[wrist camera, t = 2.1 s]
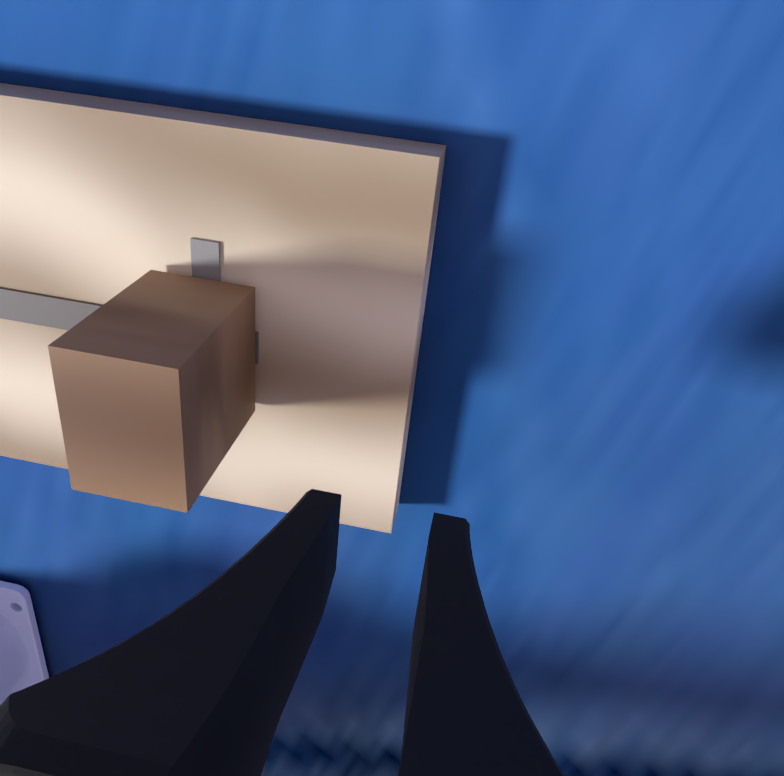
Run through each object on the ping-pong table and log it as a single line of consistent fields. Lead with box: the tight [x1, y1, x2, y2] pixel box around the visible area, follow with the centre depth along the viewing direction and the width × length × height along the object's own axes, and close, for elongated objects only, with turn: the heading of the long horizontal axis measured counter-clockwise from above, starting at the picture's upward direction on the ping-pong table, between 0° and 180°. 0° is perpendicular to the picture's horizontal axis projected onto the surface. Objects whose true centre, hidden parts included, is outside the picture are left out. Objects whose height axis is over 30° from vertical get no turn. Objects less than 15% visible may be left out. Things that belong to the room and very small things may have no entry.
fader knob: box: [48, 270, 255, 513], centre depth 18 cm, size 4×3×5 cm
